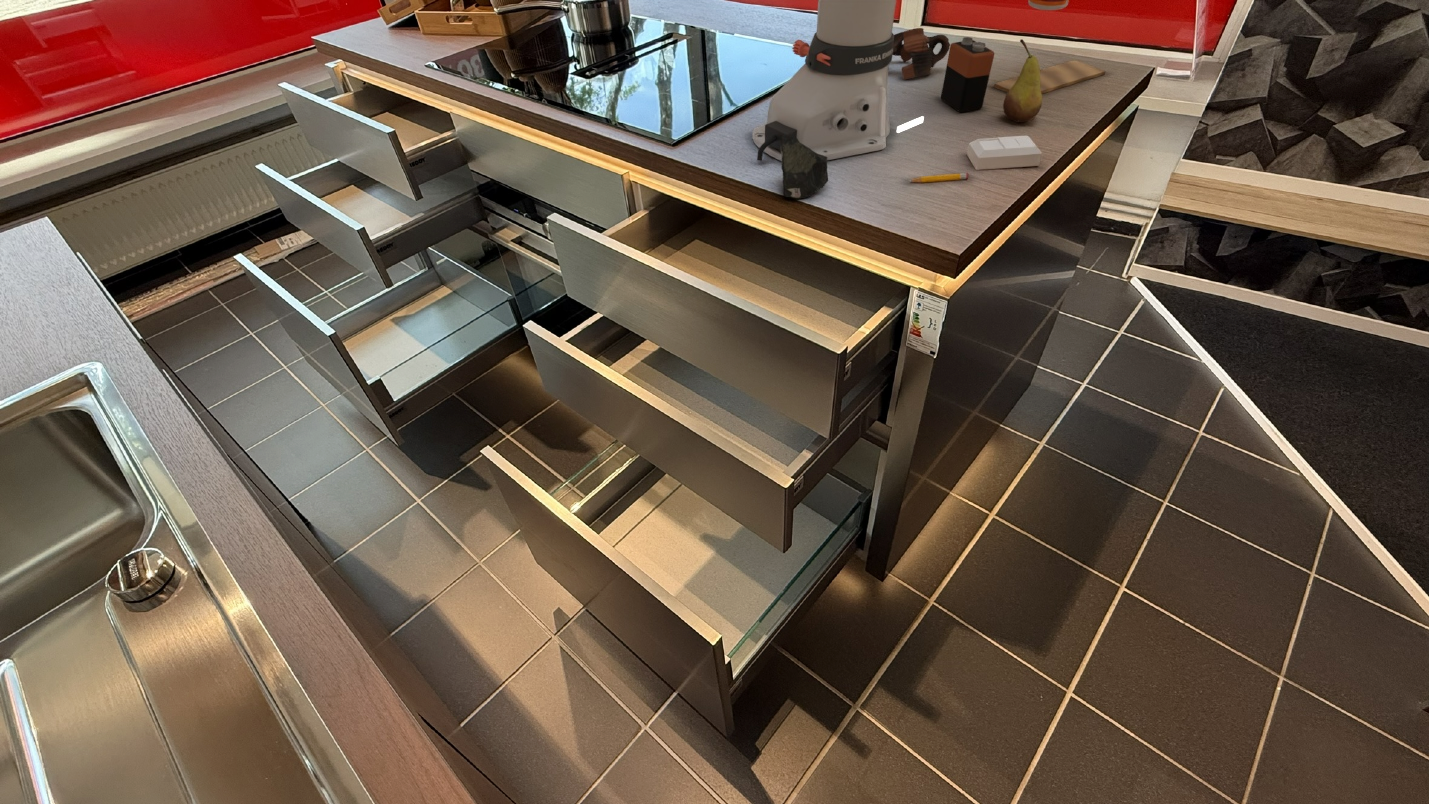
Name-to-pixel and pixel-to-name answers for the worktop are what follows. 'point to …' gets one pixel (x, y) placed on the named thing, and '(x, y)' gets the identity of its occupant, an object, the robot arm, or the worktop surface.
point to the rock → (801, 168)
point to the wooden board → (1058, 76)
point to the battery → (967, 75)
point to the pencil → (941, 178)
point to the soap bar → (1003, 152)
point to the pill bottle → (1048, 4)
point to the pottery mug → (919, 51)
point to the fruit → (1025, 92)
